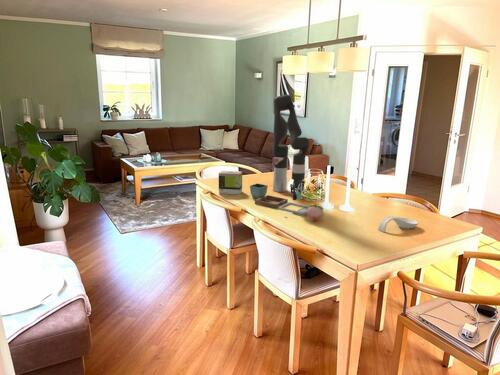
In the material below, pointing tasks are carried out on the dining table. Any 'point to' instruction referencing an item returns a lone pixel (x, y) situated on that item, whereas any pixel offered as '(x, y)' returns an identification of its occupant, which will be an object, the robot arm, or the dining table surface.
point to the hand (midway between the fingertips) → (296, 198)
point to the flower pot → (258, 190)
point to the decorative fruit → (315, 212)
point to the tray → (300, 212)
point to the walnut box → (271, 201)
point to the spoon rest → (398, 223)
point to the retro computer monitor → (230, 182)
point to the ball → (298, 195)
